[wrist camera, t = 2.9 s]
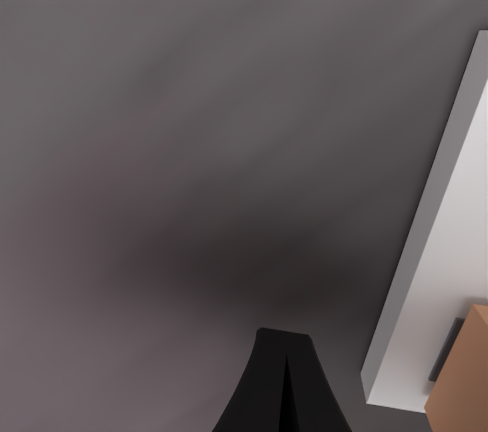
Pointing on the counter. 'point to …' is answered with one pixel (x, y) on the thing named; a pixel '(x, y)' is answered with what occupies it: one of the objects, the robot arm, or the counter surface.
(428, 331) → the switch bank
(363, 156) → the counter surface
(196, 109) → the counter surface
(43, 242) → the counter surface
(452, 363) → the tab
